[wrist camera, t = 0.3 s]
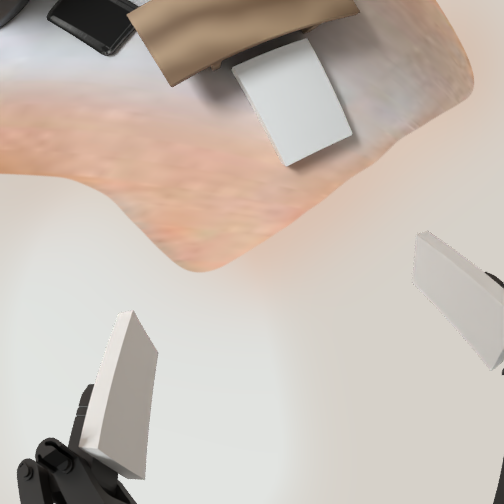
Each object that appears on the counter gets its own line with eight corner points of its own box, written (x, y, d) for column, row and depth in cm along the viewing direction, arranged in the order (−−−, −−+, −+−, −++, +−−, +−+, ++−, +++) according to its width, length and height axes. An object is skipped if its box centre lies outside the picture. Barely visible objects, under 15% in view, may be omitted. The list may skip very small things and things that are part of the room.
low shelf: (138, 28, 25) (126, 14, 19) (301, -35, 22) (315, -53, 17) (177, 90, 30) (170, 86, 24) (339, 23, 27) (360, 12, 22)
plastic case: (231, 70, 30) (232, 67, 27) (299, 43, 29) (306, 37, 26) (280, 162, 36) (286, 166, 34) (342, 132, 35) (352, 134, 33)
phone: (106, 57, 25) (44, 18, 19) (109, 59, 26) (47, 19, 20) (148, 12, 23) (80, -24, 17) (150, 14, 24) (83, -22, 18)
